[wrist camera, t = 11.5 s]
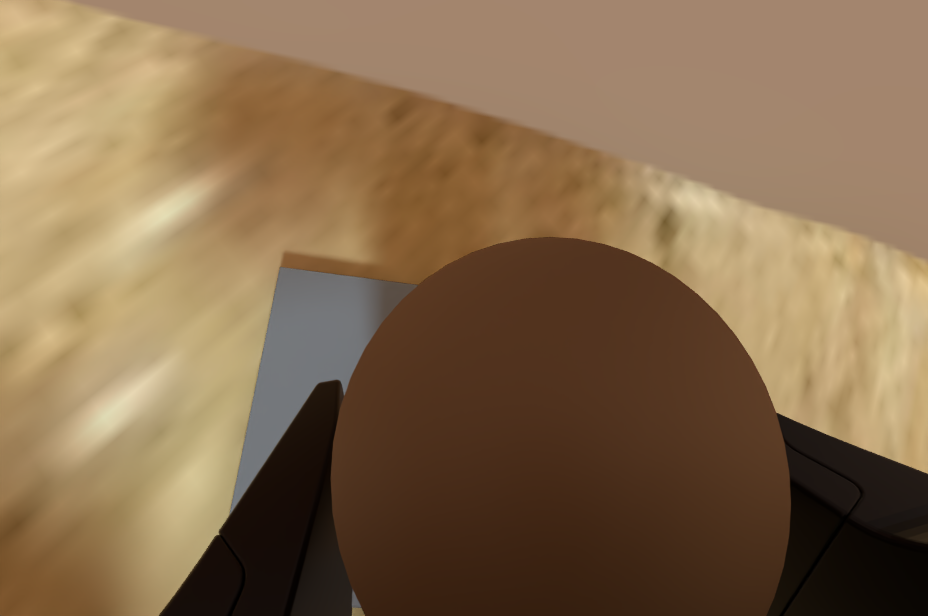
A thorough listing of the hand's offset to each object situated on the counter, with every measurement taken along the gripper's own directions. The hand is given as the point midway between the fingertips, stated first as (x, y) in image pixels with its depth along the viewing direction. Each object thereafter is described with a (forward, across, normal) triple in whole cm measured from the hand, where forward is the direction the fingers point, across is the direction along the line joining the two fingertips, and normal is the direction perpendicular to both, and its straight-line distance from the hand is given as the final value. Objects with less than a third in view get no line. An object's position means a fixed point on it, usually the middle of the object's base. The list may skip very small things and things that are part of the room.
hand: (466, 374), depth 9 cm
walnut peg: (+4, 0, +6) cm, 8 cm away
